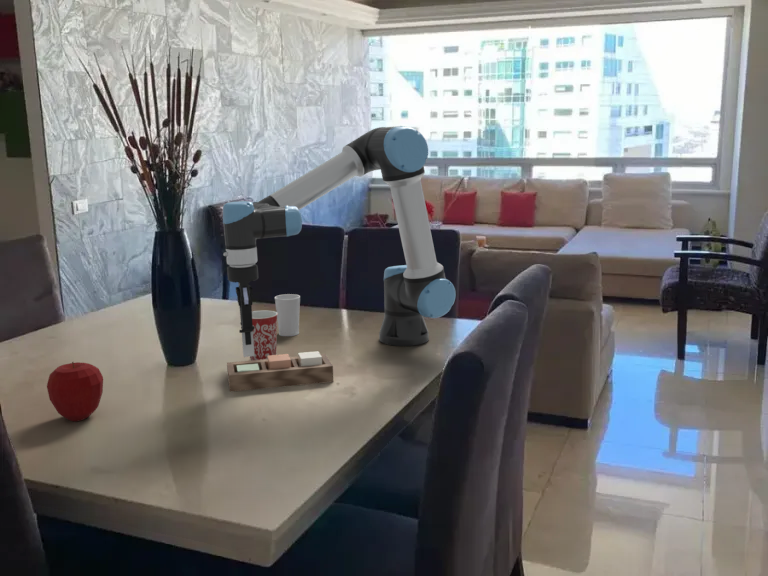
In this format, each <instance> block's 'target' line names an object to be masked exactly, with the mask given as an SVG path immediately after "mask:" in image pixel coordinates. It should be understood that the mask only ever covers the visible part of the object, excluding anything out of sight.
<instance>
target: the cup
mask: <svg viewBox="0 0 768 576" xmlns="http://www.w3.org/2000/svg"><path fill="white" fill-rule="evenodd" d="M274 302H275V310H276V311H275V312H277V313H278V315H277V329H278V335H279V336H281V337H294V336H297V335H299V334H300V310H301V309H300V308H301V307H300V304H301V295H299V294H296V293H295V294H294V293H293V294H292V293H291V294H290V293H287V294H286V293H285V294H279V295H276V296H274Z"/></svg>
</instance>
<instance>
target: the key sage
mask: <svg viewBox="0 0 768 576" xmlns="http://www.w3.org/2000/svg"><path fill="white" fill-rule="evenodd" d="M257 370H259V366H258V364H247V365H237V372H246V371H257Z"/></svg>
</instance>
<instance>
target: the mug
mask: <svg viewBox="0 0 768 576" xmlns="http://www.w3.org/2000/svg"><path fill="white" fill-rule="evenodd" d="M277 315H278V313H277V312H276V311H274V310H254V311H252V323H253V326H254V327H255V329H253V341H254V355H255V356H249V361H252V360H263V359H268V358H267V356H269V355H278V354H277V343H278V342H277V339H278V338H277V333H278V331H277V330H278V320H277Z"/></svg>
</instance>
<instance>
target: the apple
mask: <svg viewBox="0 0 768 576" xmlns="http://www.w3.org/2000/svg"><path fill="white" fill-rule="evenodd" d="M47 380H48V381H47V383H46V389H47V394H48V398H49V401H50V403H51V404H52V405H53V407H54V409H55V410H56V411H57V413H58V414H59V415H60V416H61V417H63V418H65V419H66V420H68V421H70V422H79V421H83V420H85V419H87V418H89V417H90V416H91V415H92V414H93V413H95V411H96V410H97V409H98V408H99V405H100V402H101V399H102V395H103V388H104V377H103V375H102V372H101V371H100V369H99V367H97V366H95V365H93V364H91V363H88V362H74V361H72V362H71V363H66V364H62V365H59V366H57V367H56V368H55V369H54V370H53V371H52V372H51V373H50V374H49V377H48V379H47Z"/></svg>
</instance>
